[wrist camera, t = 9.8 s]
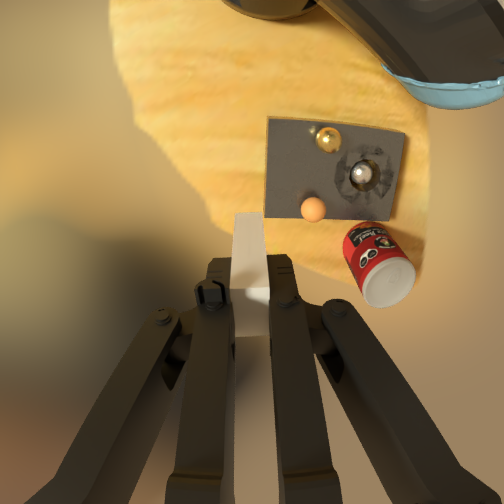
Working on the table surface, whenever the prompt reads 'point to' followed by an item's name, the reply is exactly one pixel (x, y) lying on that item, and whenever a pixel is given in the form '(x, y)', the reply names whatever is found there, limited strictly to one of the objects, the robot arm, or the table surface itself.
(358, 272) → the canned food
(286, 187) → the bearing plate
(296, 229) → the table surface
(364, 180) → the steel ball
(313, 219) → the orange ball
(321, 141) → the brass ball
